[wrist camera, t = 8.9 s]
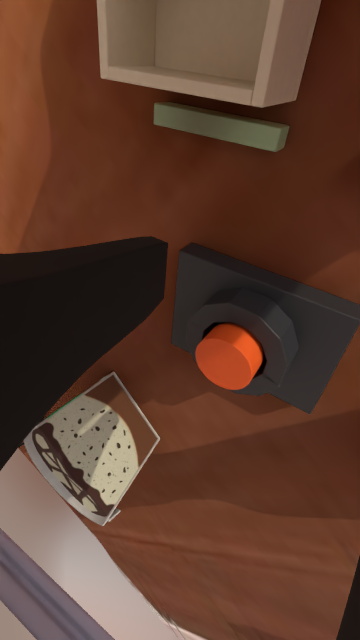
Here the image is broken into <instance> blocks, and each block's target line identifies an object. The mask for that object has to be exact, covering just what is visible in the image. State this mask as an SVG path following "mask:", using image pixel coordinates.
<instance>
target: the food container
mask: <svg viewBox="0 0 360 640" xmlns="http://www.w3.org/2000/svg"><path fill="white" fill-rule="evenodd" d="M159 440H160V437H159V436H158V434H157V433H156V432H155V430H154V429H153V427H152V426H151V424H150V423H149V421H148V420H147V418H146V417H145V415H144V414H143V413H142V411H141V410H140V408H139V407H138V405H137V404H136V402H135V401H134V399H133V398H132V397H131V395H130V394H129V392H128V391H127V389H126V388H125V386H124V385H123V383H122V382H121V381H120V379H119V378H118V376H117V375H116V373H115V372H114V371H113V372H111V373H109V374H107V375H106V376H104V377H103V378H102V379H100V380H99V381H97V382H96V383H95V384H93V385H92V386H90V387H89V388H87V389H86V390H85V391H83V392H82V393H80V394H79V395H78V396H76V397H75V398H73V399H72V400H71V401H69V402H68V403H66V404H65V405H63V406H62V407H61V408H59V409H58V410H56V411H55V412H54V413H52V414H51V415H49V416H48V417H47V418H45V419H44V420H42V421H41V422H38V424H37V425H36V426H35V427H34V429H33V430H32V431H31V432H30V433H29V435H28V436H27V437H26V438H25V439H24V445H25V448H26V450H27V452H28V454H29V456H30V458H31V459H32V461H33V463H34V464H35V466H36V467H37V468H38V470H39V471H40V472H41V474H42V475H43V476H44V477H45V479H46V480H47V481H48V482H49V483H50V485H51V486H52V487H53V488H54V489H55V490H56V491H57V492H58V493H59V494H60V495H61V496H62V497H63V498H64V499H65V500H66V501H67V502H68V503H69V504H71V505H72V506H73V507H74V508H75V509H76V510H78V511H79V512H80V513H81V514H83V515H84V516H86V517H87V518H88V519H90V520H92V521H93V522H95V523H97V524H99V525H101V526H104V524H105V523H106V522H107V521H108V522H110V521H111V520H112V519H113V518H114V517H115V516H116V515H117V514H118V513H119V512H120V509H117V508H116V507H117V505H118V504H119V502H120V501H121V499H122V498H123V496H124V494H125V493H126V491H127V490H128V488H129V487H130V485H131V484H132V482H133V480H134V479H135V477H136V476H137V474H138V473H139V471H140V470H141V468H142V467H143V465H144V463H145V462H146V460H147V459H148V457H149V456H150V454H151V453H152V451H153V450H154V448H155V446H156V445H157V443H158V442H159Z"/></svg>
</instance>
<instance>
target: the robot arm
mask: <svg viewBox="0 0 360 640" xmlns="http://www.w3.org/2000/svg"><path fill="white" fill-rule="evenodd" d="M167 250H168V243H167V242H165V241H162V240H160V239H157V238H154V237H152V236H151V237H137V238H130V239H123V240H117V241H111V242H105V243H99V244H93V245H87V246H81V247H73V248H66V249H59V250H52V251H43V252H32V253H16V254H0V470H1V469H2V468H3V466H4V465H5V464H6V463H7V461H8V460H9V459H10V457H11V456H12V455H13V453H14V452H15V451H16V449H17V448H18V447H19V446H20V444H21V443H22V442H23V441H24V439H25V438H26V437H27V436H28V435H29V433H30V432H31V431H32V430H33V429H34V427H35V426H36V425H37V424H38V422H39V421H40V420H41V419H42V418H43V416H44V415H45V414H46V413H47V412H48V411H49V410H50V409H51V407H52V406H53V405H54V404H55V403H56V402H57V401H58V400H59V398H60V397H61V396H62V395H63V394H64V393H65V392H66V391H67V390H68V389H69V388H70V387H71V386H72V384H73V383H74V382H75V381H76V380H77V379H78V378H79V377H80V376H81V375H82V374H83V373H84V372H85V371H86V370H87V369H88V368H89V367H90V366H91V365H92V364H94V363H95V362H96V361H97V360H98V359H99V358H100V357H102V356H103V355H104V354H105V353H106V352H108V351H109V350H110V349H111V348H112V347H114V346H115V345H116V344H117V343H118V342H120V341H121V340H122V339H123V338H124V337H126V336H127V335H128V334H129V333H130V332H131V331H133V330H134V329H135V328H136V327H137V326H138V325H140V324H141V323H142V322H143V321H144V320H145V319H146V318H147V317H148V316H149V315H150V314H151V313H152V311H153V310H154V309H155V308H156V307H157V306H158V304H159V303H160V302H161V301H162V300H163V298H164V289H165V276H166V263H167ZM0 600H1V601H2V602H3V603H4V605H5V606H6V607H7V608H8V609H9V610H10V611H11V612H12V613H13V614H14V615H15V617H17V619H18V620H19V621H20V622H21V623H22V624H23V625H24V626H25V627H26V628H27V630H28V631H29V632H30V633H31V634H32V635H33V636H34V637H35V638H36V639H37V640H115V639H114V638H112V636H111V635H109V634H108V633H107V632H106V631H105V630H104V629H103V628H102V627H101V626H100V625H99V624H98V623H97V622H96V621H95V620H94V619H93V618H92V617H91V616H90V615H89V614H88V613H87V612H86V611H85V610H84V609H83V608H82V607H81V606H79V604H78V603H76V601H74V600H73V599H72V598H71V597H70V596H69V595H68V594H67V593H66V592H65V591H64V590H63V589H62V588H61V587H60V586H59V585H58V584H57V583H56V582H55V581H54V580H53V579H52V578H51V577H50V576H49V575H48V574H47V573H46V572H45V571H44V570H43V569H42V568H41V567H39V566H38V565H37V564H36V563H35V562H34V561H33V560H32V559H31V558H30V557H29V556H28V555H27V554H26V553H25V552H24V551H23V550H22V549H21V548H20V547H19V546H18V545H17V544H16V543H15V542H14V541H13V540H12V539H11V538H10V537H8V535H6V533H5V532H3V531H2V530H1V529H0ZM336 640H360V557H359V560H358V564H357V568H356V572H355V575H354V579H353V583H352V587H351V590H350V594H349V597H348V601H347V604H346V608H345V611H344V615H343V618H342V622H341V625H340V629H339V632H338V635H337V639H336Z"/></svg>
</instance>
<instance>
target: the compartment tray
mask: <svg viewBox="0 0 360 640" xmlns="http://www.w3.org/2000/svg"><path fill="white" fill-rule="evenodd" d="M320 4H321V0H97V15H98V34H99V54H100V74H101V78H102V79H108V80H113V81H118V82H124V83H129V84H135V85H140V86H146V87H151V88H157V89H162V90H168V91H173V92H178V93H184V94H189V95H195V96H200V97H206V98H211V99H217V100H222V101H228V102H233V103H239V104H244V105H252V106H255V107H260V108H263V107H267V106H272V105H277V104H282V103H286V102H291V101H295V100H296V98H297V94H298V90H299V86H300V82H301V79H302V75H303V71H304V67H305V63H306V59H307V55H308V51H309V47H310V43H311V39H312V35H313V31H314V27H315V23H316V20H317V16H318V12H319V8H320Z"/></svg>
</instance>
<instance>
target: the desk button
mask: <svg viewBox="0 0 360 640" xmlns="http://www.w3.org/2000/svg"><path fill="white" fill-rule="evenodd" d="M195 356H196V361H197V364H198V366H199V368H200V370H201V371H202V373H203V374H204V375H205V376H206V377H207V378H208V379H209V380H210V381H212V382H213V383H214V384H216V385H218V386H220V387H222V388H225V389H230V390H238V389H242V388H244V387H246V386H247V385H248V384H249V383H250V381H251V380H252V378H253V377H254V375H255V374H256V372H257V370H258V369H259V367H260V366H261V364H262V362H263V349H262V347H261V344H260V342H259V341H258V340H257V338H256V337H255V336H254V335H253V334H252V333H251V332H250V331H249V330H247V329H246V328H244V327H241V326H239V325H237V324H233V323H222V324H219V325H217V326H215V327H214V328H213V329H212V330H211V331H210V332H209V333H208V334H207V335H206V337H205V338H204V339H203V340H202V341H201V342H200V343H199V344H198V346H197V348H196V353H195Z"/></svg>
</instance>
